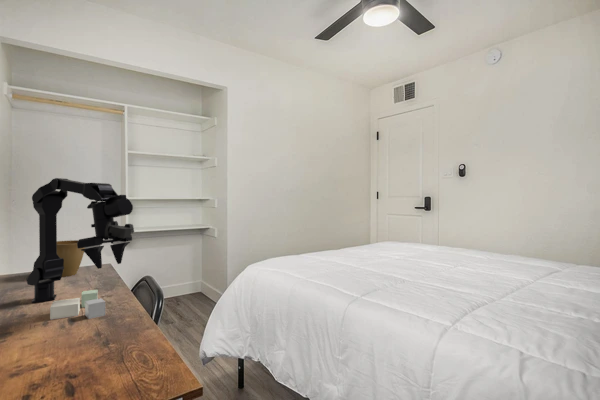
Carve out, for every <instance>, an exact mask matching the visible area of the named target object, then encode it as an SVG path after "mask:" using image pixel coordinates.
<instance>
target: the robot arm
mask: <svg viewBox="0 0 600 400" xmlns="http://www.w3.org/2000/svg"><path fill="white" fill-rule="evenodd" d="M68 192H70V193H73V194H79V195H82V196H83V197H84V198H86V199H87V200H90V203H89V204H88V206H87V207H86V208H87V209H88V210H89V209H92V217H93V223H92V224H90V227H91V228H94V232H95V236H94V235H93V236H91V237H86V238H80V239H77V240H78V242H77V247H78V248H85V249H81V251H84V253H85V254H86V256H87V257H88V258H89V259H90V260H91V261H92V263H93V264H94V265H95V267H96V268H97V269H102V267H103V263H102V262H103V259H102V251H103V249H104V247H105V245H103V244H109V243H110V244H109V245H110V248H111V251H112V254H113V256H114V259H115V261H116V263H117V265H120V264H122V261H123V258H124V257H123V256H124V253H125V248H126V247H127V245H129V244H130V243H131V241H133V236H132V234H133V233H135V230H134V229H135V228H134V225H133V223H125V224H124V225H119V223H118V221H117V220H115V219H114V218H118V217H123V216H128V215H130V214H131V213H132V212H133V209H134V208H133V207H134V206H133V203H132V201H130V199H128V198H127V195H126V194H118V193H117V192H116V191H115V189H114V188H113V187H112V184H110V183H106V182H105V183H103V182H82V181H78V180H71V179H68V178H63V177H61V178H59V177H55V178H52V179H51V180H50V181H49V182H48V183H45V184H44V185H42V186H40V187H39V188H38V189H37V190H36V191H35V192H34V193H33V194H32V196H31V200H32V206H33V209H34V211H36V213H37V214H38V220H39V221H38V222H39V225H38V227H39V229H38V230H39V232H38V233H39V234H38V235H39V247H38V248H39V253H38V254H39V255H38V256H37V258H36V260H35V261H34V262H33V267H32V268H33V269H32V271H31V272H30V274H29V275H28V276H27V278H26V283H27V286H28V285H29V286H34V287H33V289H34V290H33V293H34V297H33V299H32V300H31V303H33V304H34V303H40V302H42V303H43V302H49V301H50V302H51V301H56V300H55V299H56V298H57V295H58V294H55V282H57V281H61V280H62V273H63V269H64V259H63V258H60V257H59V256H58V255H57V241H58V237H57V236H58V235H57V234H58V233H57V231H58V229H57V219H58V217H57V214H59V212H60V210H61V209H62V208H63V201H64V200H65V199H66V198H67V197H68Z"/></svg>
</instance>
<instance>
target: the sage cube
mask: <svg viewBox="0 0 600 400" xmlns="http://www.w3.org/2000/svg"><path fill="white" fill-rule="evenodd" d="M98 292H99V291H98V289H91V290H89V289H88V290H83V291H82V292H81V309H82V308H85V301H89V300H94V299H99V297H98Z"/></svg>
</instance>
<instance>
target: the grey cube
mask: <svg viewBox="0 0 600 400" xmlns="http://www.w3.org/2000/svg"><path fill="white" fill-rule="evenodd" d="M84 316H85V317H86V318H87V319H88V320H89V319H90V320H91V319H95V318H98V317H99V318H100V317H103V316H106V301H105V300H104V299H103V298H101V297H100V298H98V299H94V300H89V301H85V307H84Z"/></svg>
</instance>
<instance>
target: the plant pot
mask: <svg viewBox="0 0 600 400" xmlns="http://www.w3.org/2000/svg"><path fill="white" fill-rule="evenodd" d="M78 240H79V239H77V240H76V239H75V240H71V239H70V240H57V255H58V256H59V257H60V258H63V259H64V269H63V273H62V277H63V278H65V277H66V276H67V277H73V276H75V274H76V275H77V273H78V272H79V271H78V270H79V268H80V266H81V264H82V261H83V257H84V253H85V252H84V251H81V249H85V248H78V247H77V242H78ZM72 275H73V276H72ZM62 277H61V278H62ZM67 277H66V278H67Z"/></svg>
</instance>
